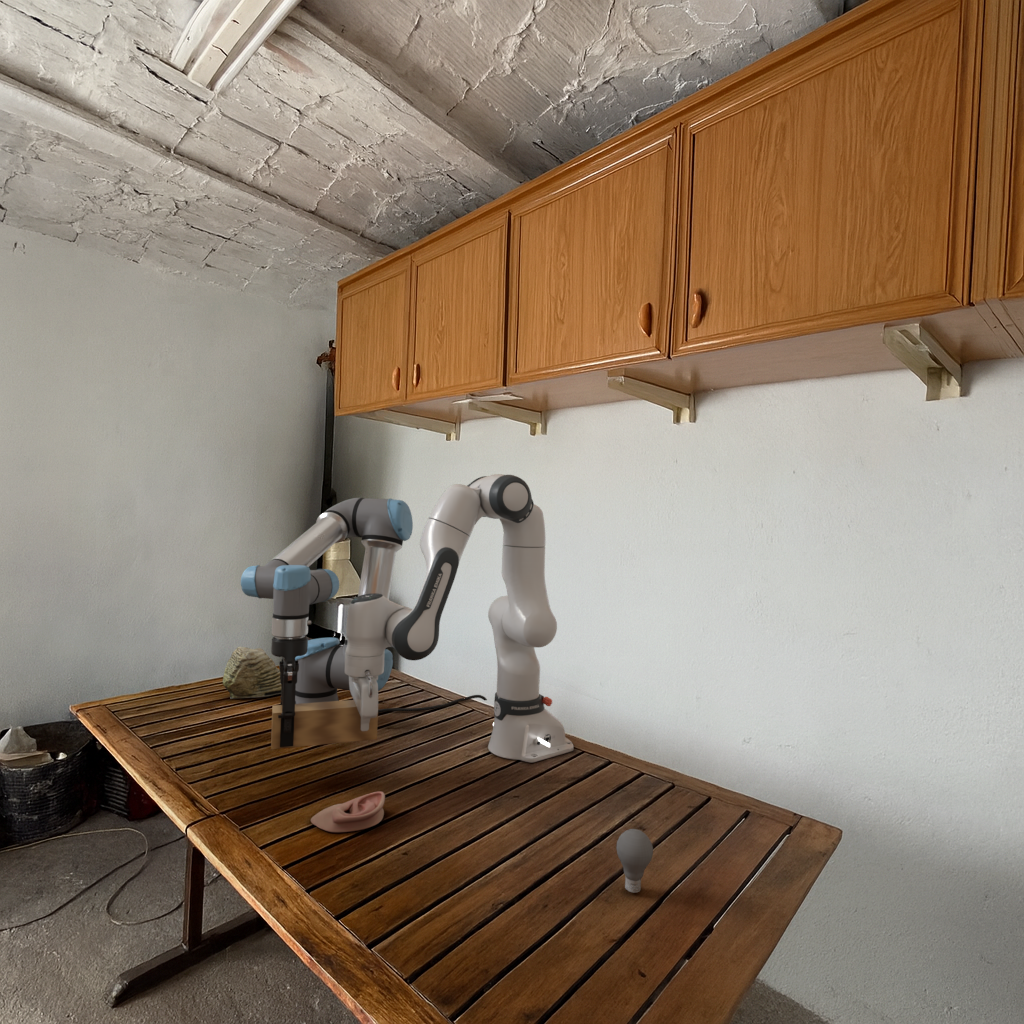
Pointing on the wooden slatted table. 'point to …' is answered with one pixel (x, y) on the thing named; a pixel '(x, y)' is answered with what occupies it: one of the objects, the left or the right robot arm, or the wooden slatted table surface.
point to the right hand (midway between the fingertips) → (362, 724)
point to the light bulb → (634, 857)
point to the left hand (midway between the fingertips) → (286, 740)
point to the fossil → (251, 674)
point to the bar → (323, 724)
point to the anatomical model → (352, 814)
